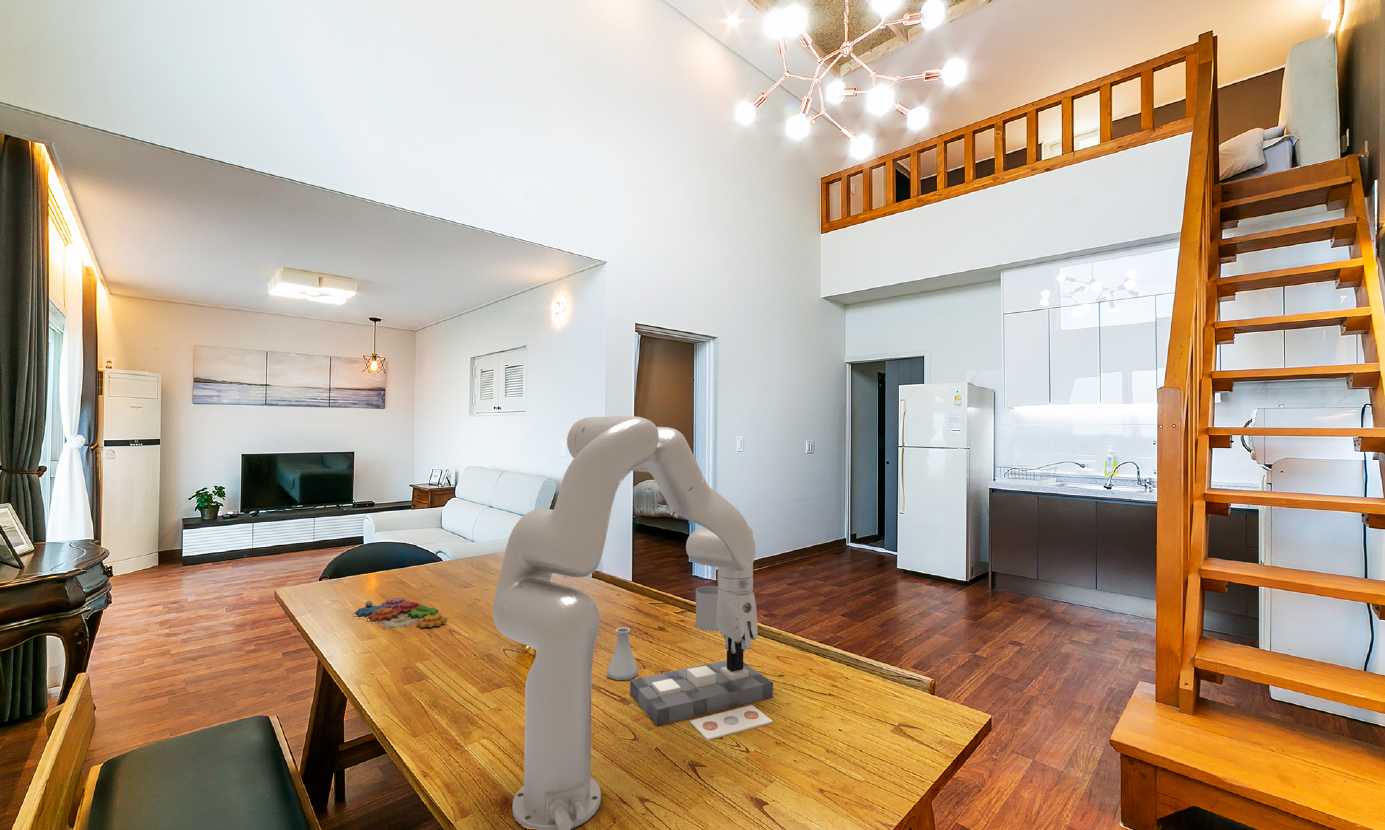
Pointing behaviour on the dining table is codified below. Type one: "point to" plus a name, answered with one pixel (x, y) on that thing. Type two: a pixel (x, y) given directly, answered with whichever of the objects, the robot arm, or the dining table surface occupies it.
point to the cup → (706, 607)
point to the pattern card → (730, 722)
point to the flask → (622, 658)
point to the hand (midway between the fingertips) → (735, 669)
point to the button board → (698, 694)
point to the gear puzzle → (401, 614)
